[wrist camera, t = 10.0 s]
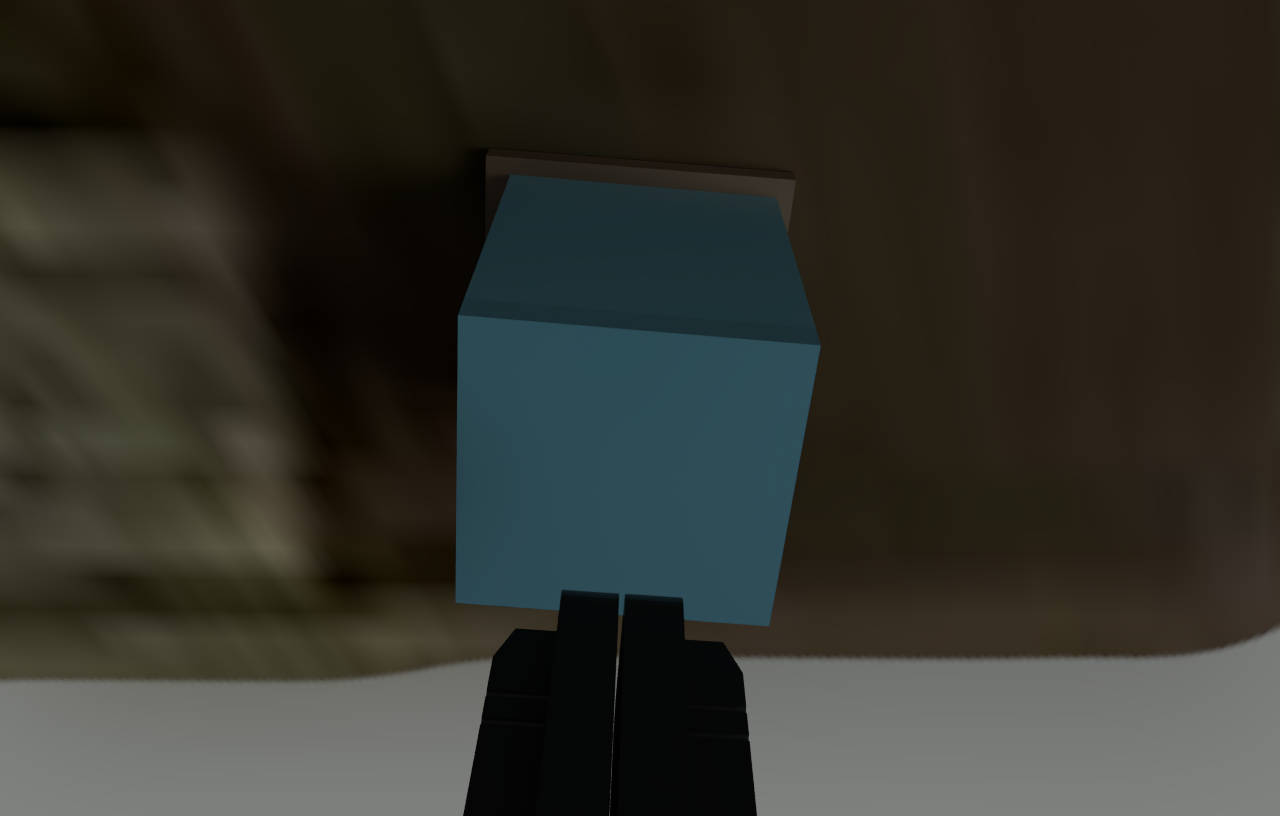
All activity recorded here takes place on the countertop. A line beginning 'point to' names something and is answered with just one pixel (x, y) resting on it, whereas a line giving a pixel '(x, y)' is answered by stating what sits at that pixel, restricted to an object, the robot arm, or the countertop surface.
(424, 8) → the countertop surface
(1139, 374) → the countertop surface
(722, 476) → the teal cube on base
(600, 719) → the robot arm
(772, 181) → the dark stepped block
